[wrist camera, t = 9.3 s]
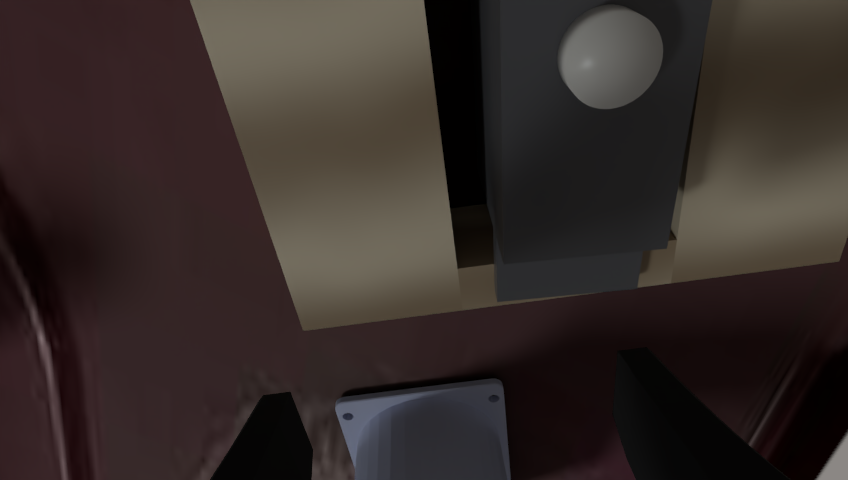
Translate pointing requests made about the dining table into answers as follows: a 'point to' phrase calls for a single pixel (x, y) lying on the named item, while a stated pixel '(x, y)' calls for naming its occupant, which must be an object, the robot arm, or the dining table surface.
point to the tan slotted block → (471, 225)
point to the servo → (581, 135)
